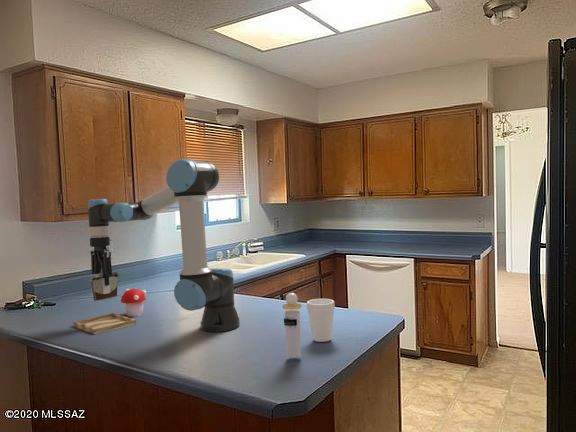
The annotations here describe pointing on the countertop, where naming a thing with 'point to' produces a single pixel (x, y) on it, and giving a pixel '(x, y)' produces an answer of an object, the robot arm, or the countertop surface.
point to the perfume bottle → (292, 326)
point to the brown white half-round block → (98, 290)
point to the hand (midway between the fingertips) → (102, 292)
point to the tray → (104, 323)
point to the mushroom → (133, 301)
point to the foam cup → (321, 318)
